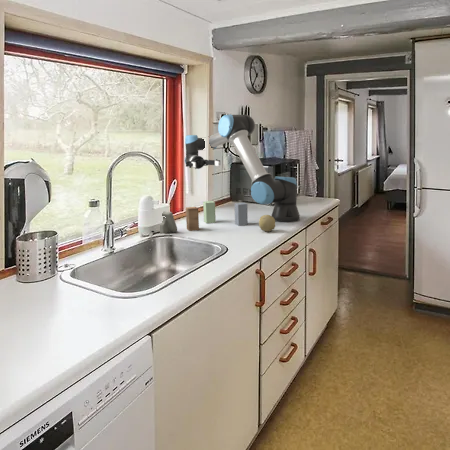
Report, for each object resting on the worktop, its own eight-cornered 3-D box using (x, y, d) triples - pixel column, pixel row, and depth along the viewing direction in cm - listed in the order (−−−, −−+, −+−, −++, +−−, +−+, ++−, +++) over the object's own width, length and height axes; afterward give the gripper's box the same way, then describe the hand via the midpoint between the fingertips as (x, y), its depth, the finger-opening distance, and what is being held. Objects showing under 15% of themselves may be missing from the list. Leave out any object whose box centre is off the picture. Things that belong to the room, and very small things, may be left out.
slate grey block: (235, 224, 230) (234, 203, 228) (244, 223, 232) (243, 202, 230) (238, 225, 226) (238, 204, 223) (247, 224, 227) (247, 203, 225)
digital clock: (179, 232, 216) (178, 210, 214) (164, 235, 210) (162, 213, 208) (160, 227, 227) (158, 207, 225) (145, 230, 221) (143, 209, 219)
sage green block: (204, 221, 238) (203, 201, 236) (212, 220, 240) (212, 200, 237) (206, 223, 234) (205, 203, 231) (215, 222, 235) (214, 202, 233)
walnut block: (186, 229, 222) (185, 207, 220) (196, 228, 224) (195, 206, 221) (189, 231, 217) (188, 209, 215) (199, 230, 219) (198, 208, 217)
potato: (258, 229, 216) (258, 213, 214) (274, 229, 215) (274, 213, 214) (259, 233, 208) (259, 216, 207) (275, 233, 208) (275, 216, 206)
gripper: (216, 167, 266) (228, 169, 246) (176, 169, 258) (185, 172, 238) (216, 154, 264) (228, 156, 245) (175, 156, 256) (184, 158, 237)
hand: (207, 164), depth 242 cm, fingers open, 13 cm apart
